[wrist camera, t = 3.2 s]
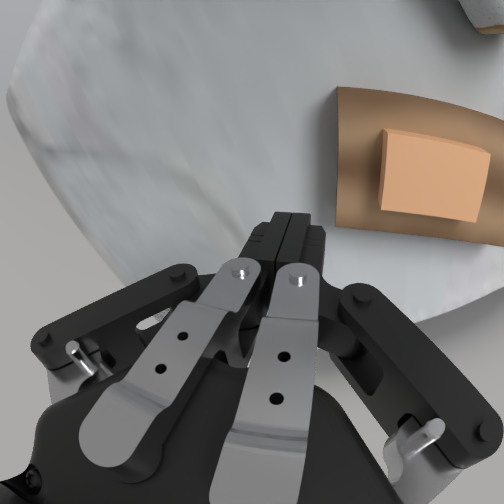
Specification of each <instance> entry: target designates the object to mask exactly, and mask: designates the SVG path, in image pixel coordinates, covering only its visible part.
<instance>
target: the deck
mask: <svg viewBox="0 0 504 504" xmlns="http://www.w3.org/2000/svg"><path fill="white" fill-rule="evenodd" d="M337 99H338V176H337V199H336V221H335V227H343V228H354V229H365V230H375V231H385V232H394V233H403V234H412V235H421V236H429V237H438V238H445V239H453V240H461V241H468V242H475V243H482V244H489V245H496V246H502V247H504V121H503V120H501V119H498V118H495V117H493V116H490V115H487V114H484V113H481V112H478V111H475V110H471V109H468V108H465V107H461V106H457V105H454V104H450V103H446V102H442V101H438V100H433V99H429V98H424V97H419V96H413V95H408V94H402V93H395V92H388V91H381V90H372V89H362V88H350V87H337ZM383 128H384V129H392V130H399V131H405V132H412V133H418V134H423V135H429V136H434V137H439V138H444V139H448V140H453V141H457V142H461V143H465V144H469V145H473V146H476V147H480V148H482V149H483V150H485V151H486V152H488V153H490V154H491V156H490V163H489V169H488V174H487V179H486V184H485V189H484V193H483V198H482V202H481V206H480V210H479V213H478V217H477V220H476V223H474V222H468V221H462V220H456V219H449V218H443V217H436V216H428V215H421V214H413V213H405V212H396V211H388V210H381V208H380V205H379V202H378V193H379V184H380V174H381V162H382V146H383Z"/></svg>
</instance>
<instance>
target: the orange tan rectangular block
mask: <svg viewBox="0 0 504 504" xmlns="http://www.w3.org/2000/svg"><path fill="white" fill-rule="evenodd" d="M490 156H491V154H490V153H488V152H486V151H485V150H483V149H482V148H480V147H476V146H473V145H469V144H465V143H461V142H457V141H453V140H448V139H444V138H439V137H434V136H429V135H423V134H418V133H412V132H405V131H399V130H392V129H384V128H383V146H382V162H381V174H380V184H379V193H378V202H379V205H380V208H381V210H388V211H396V212H405V213H413V214H421V215H428V216H436V217H443V218H449V219H456V220H462V221H468V222H474V223H476V220H477V217H478V213H479V210H480V206H481V202H482V198H483V193H484V189H485V184H486V179H487V174H488V169H489V163H490Z"/></svg>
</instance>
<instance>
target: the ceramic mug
mask: <svg viewBox="0 0 504 504" xmlns="http://www.w3.org/2000/svg"><path fill="white" fill-rule="evenodd" d="M458 1H459V2H460V4H461V6H462V8H463V10H464V11H465V13H466V15H467V17H468V19H469V20H470V22H471V23H472V25H473V26H474V27H475V29H476V30H477V31H478V32H480V33H481V34H484V35H485V34H504V0H458Z"/></svg>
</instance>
